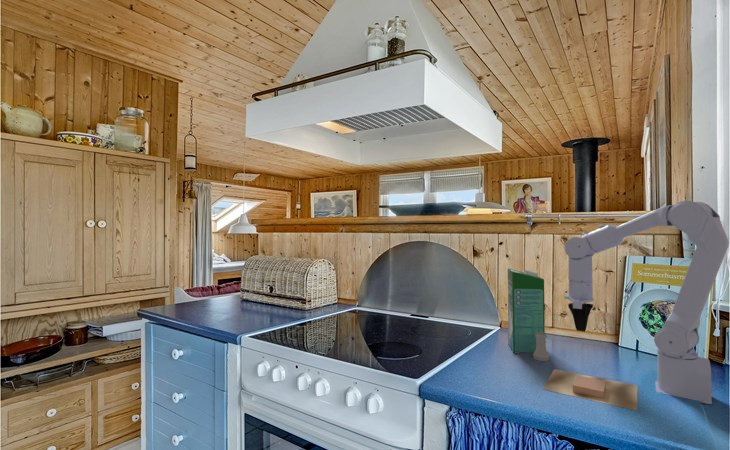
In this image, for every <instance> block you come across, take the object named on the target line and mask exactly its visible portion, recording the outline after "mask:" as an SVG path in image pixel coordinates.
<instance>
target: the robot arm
mask: <svg viewBox="0 0 730 450" xmlns="http://www.w3.org/2000/svg"><path fill="white" fill-rule="evenodd" d="M721 221H722V220H721V216H720V215H719V213H717V211H716V210H714V208H712V207H711V205H710V204H707V203H704V202H700V201H692V200H682V201H678V202H676V203H675V204H670V205H666V206H661V207H659V208H657V209H654V210H652V211H650V212H647V213H645V214H643V215H640V216H638V217H636V218H634V219H631V220H629V221H627V222H624V223H622V224H620V225H617V226H616V225H614V224H607V225H606V224H600V225H598V228H597V229H594V230H592V231H590V232H588V233H587V232H582V233H581V236H580V237H579V236H573V237H571V238H569V239H568V240H567V241H566V242H565V244H564V252H565V254H566V255H567V256H568V257H567V258H568V295H567V294H565V295H563V298H564V300H565V299H567V300H568V301H570V303H568V305H567V306H568V309H569V310H570V312H571V314H572V318H573V321H574V327H575V329H576V331H577V332H584V333H585V332H586V330H587V327H588V321H589V317H590V313H591V311H592V310H593V307H594V304H593V303H592V302H594V299H595V298H594V297H593V296H594V292H593V284H594V283H593V257H594V255H595V254H598V253H601V252H604V251H606V250H609V249H613V248H615V247H618V246H620V245H621V244H622V243H623V241H624V239H625V238H627V237H631V236H632V235H633V236H634V235H635V234H639V233H642V232H644V231H647V230H650V229H653V228H656V227H659V226H662V227H663V226H664V227H675V228H677V230H680V231H681V232H683V233H684V234H685V235H687V236H688V238H689V239H690V240H691V242H692V243H693V244H694V245H695V250H694V252H693V256H692V258H691V261H690V263H689V266H688V269H687V272H686V274H685V277H684V279H683V281H682V284H681V287H680V289H679V292H678V295H677V297H676V300H675V303H674V305H673V309H672V310H671V312H670V314H669V315H668V317H667V318H666V320H665V322H664V324H663V326H662V327H661V328H660V329H658V330H657V331H656V332H655V334H654V338H653V340H654V344H655V346H656V347H657V349H656V351H657V353H656V354H657V356H656V357H657V358H656V359H657V361H656V362H657V380H655V381H654V382H655V383H654V384H655V391H656V393H658V394H664V395H669V396H674V397H678V398H685V399H689V400H693V401H698V402H700V403H701V404H706V405H712V404H713V402H712V393H713V385H712V369H711V368H712V367H711V362H710V359H709V358H706V357H701V356H699V355H698V353H697V351H696V350H695V347H696V346H697V345H698V344H699V341H700V333H699V326H700V324H701V316H702V313H703V312H704V308H705V306H706V303H707V300H708V298H709V296H710V293H711V291H712V288H713V285H714V284H715V281H716V279H717V275H718V273H719V271H720V268H721V266H722V263H723V260H724V259H725V255H726V253H727V250H728V248H729V243H730V242H729V239H728V236H727V233H726V231H725V228H724V226H723V224H722V222H721Z"/></svg>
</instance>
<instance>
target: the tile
mask: <svg viewBox="0 0 730 450" xmlns="http://www.w3.org/2000/svg"><path fill="white" fill-rule="evenodd" d="M605 389H606V381H603V380H598V379H593V378H588V377H583V376H578V375H577V376H576V378H575V381H574V383H573V392H576V393H581V394H585V395H590V396H595V397H599V398H604V394H605Z"/></svg>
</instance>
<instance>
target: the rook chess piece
mask: <svg viewBox="0 0 730 450" xmlns="http://www.w3.org/2000/svg"><path fill="white" fill-rule="evenodd" d="M535 337H536V338H537V339H536V350H535V352H532V353H533V354H532V355H533V359H534V360H537V361H539V362H548V361H550V354H549V352H548V351H547V344H546V343H547V338H548V336H547V332H545V333H544V332H542V333H541V332H539V333H538V332H536V335H535Z"/></svg>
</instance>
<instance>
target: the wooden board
mask: <svg viewBox="0 0 730 450" xmlns="http://www.w3.org/2000/svg"><path fill="white" fill-rule="evenodd" d="M577 375H578V376H583V377H588V378H593V379H598V380H603V381H606V389H605V394H604V398H599V397H595V396H590V395H585V394H581V393H576V392H573V383H574V381H575V378H576V376H577ZM542 390H544V391H547V392H548V391H549V392H553V393H557V394H562V395H566V396H571V397H575V398H580V399H584V400H588V401H593V402H597V403H602V404H606V405H610V406H615V407H620V408H623V409H628V410H632V411H638V385H637V384H633V383H628V382H627V383H626V382H622V381H617V380H611V379H607V378H601V377H596V376H592V375H587V374H580V373H576V372H570V371H565V370H560V369H556V368H555V369H554V368H553V370H552V372H551V374H550V375H549V377H548V379H547V380H546V383H545V384H544V386H543V388H542Z"/></svg>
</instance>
